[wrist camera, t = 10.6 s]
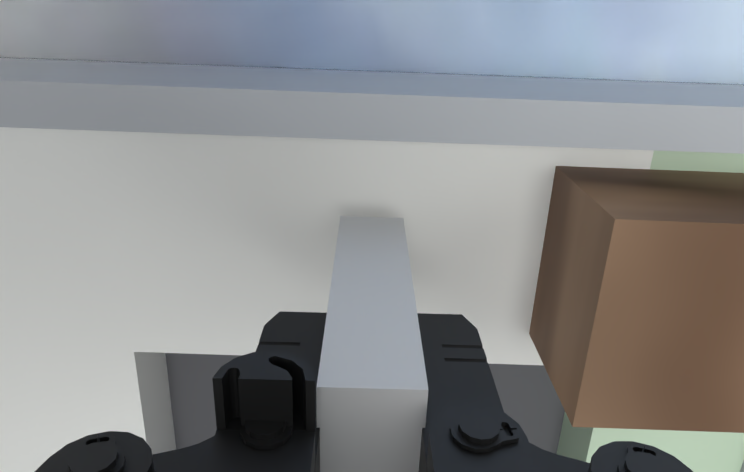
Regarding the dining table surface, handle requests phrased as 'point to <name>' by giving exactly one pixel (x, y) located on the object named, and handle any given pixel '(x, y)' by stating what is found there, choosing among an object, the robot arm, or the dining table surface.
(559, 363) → the walnut block
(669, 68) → the dining table surface
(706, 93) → the box
